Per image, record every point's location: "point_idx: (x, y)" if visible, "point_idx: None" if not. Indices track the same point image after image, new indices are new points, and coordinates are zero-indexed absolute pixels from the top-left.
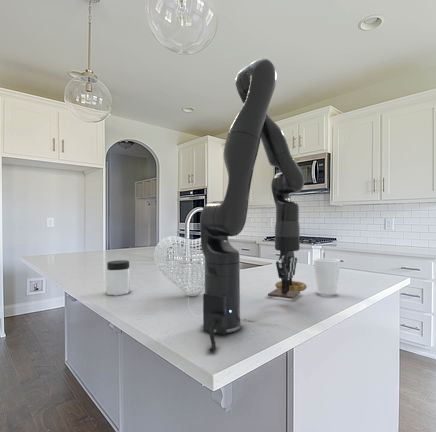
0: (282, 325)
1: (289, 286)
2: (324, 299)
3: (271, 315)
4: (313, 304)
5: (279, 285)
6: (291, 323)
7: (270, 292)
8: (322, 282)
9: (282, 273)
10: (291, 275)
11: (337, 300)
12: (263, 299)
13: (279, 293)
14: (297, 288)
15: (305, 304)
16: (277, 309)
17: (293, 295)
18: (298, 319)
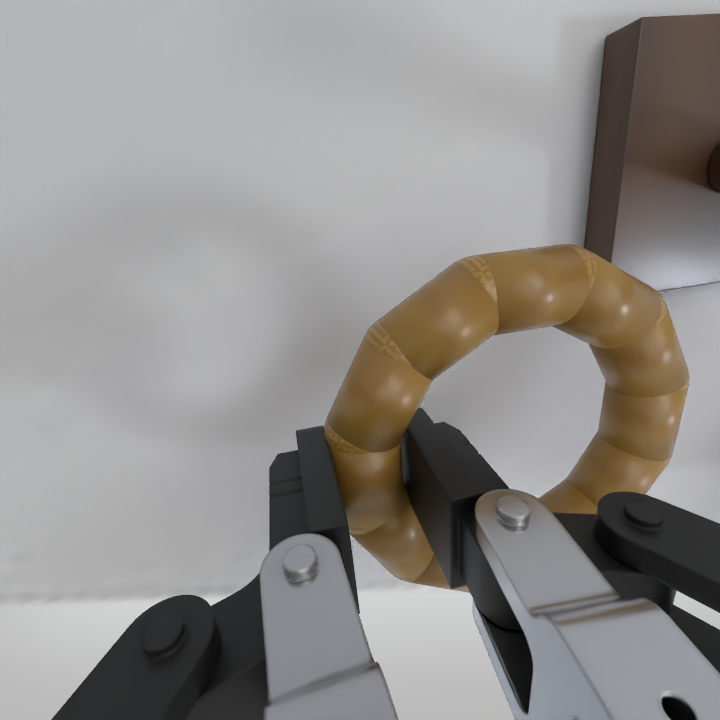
0: (3, 495)
1: (357, 524)
2: (691, 439)
3: (135, 334)
4: (557, 436)
5: (362, 390)
6: (91, 514)
7: (701, 17)
8: None
9: (293, 675)
10: (484, 638)
11: (688, 498)
12: (539, 13)
13: (685, 135)
14: (388, 569)
15: (537, 399)
16: (312, 296)
17: (651, 285)
18: (199, 507)
